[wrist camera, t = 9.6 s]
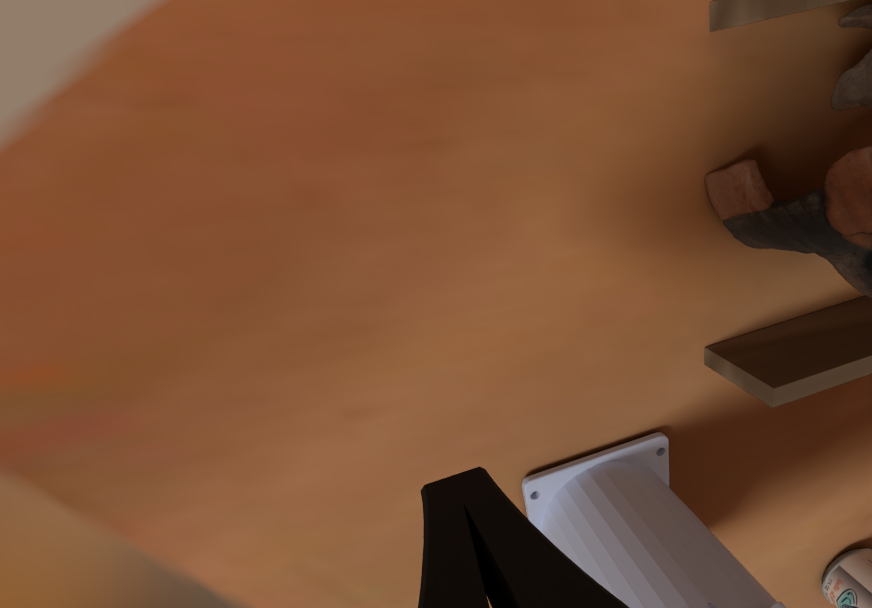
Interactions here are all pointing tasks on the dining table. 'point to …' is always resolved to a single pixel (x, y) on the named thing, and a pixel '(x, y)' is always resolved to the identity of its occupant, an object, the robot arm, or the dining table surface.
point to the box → (804, 336)
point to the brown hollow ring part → (811, 193)
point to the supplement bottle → (850, 580)
